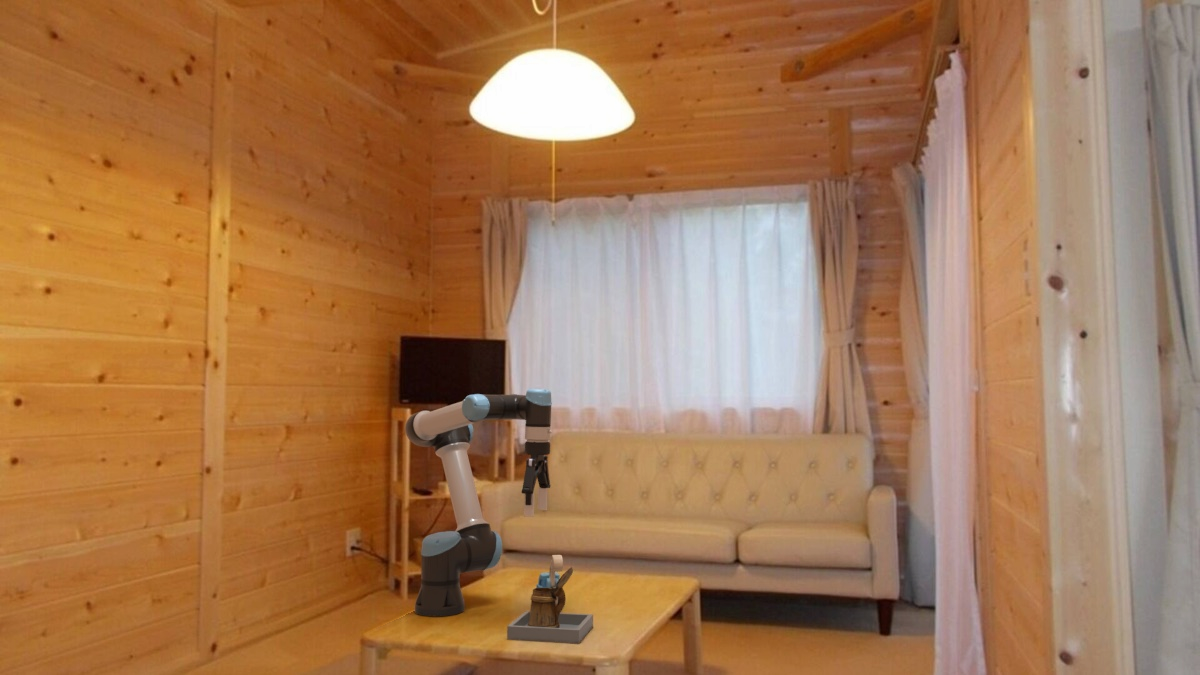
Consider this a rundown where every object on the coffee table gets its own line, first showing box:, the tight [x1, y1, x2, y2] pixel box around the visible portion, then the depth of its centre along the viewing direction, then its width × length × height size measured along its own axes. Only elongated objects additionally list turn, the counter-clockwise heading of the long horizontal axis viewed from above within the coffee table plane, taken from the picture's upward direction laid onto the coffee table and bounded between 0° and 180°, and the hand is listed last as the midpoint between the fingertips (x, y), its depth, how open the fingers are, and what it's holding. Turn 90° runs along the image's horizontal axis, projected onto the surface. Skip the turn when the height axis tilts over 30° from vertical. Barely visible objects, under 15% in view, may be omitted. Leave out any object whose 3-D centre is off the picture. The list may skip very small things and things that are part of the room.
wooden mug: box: [527, 567, 574, 628], centre depth 249 cm, size 9×14×18 cm, turn 66°
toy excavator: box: [535, 554, 564, 606], centre depth 280 cm, size 9×17×17 cm, turn 15°
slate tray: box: [506, 610, 594, 645], centre depth 249 cm, size 20×18×4 cm
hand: (535, 513), depth 264 cm, fingers open, 13 cm apart
